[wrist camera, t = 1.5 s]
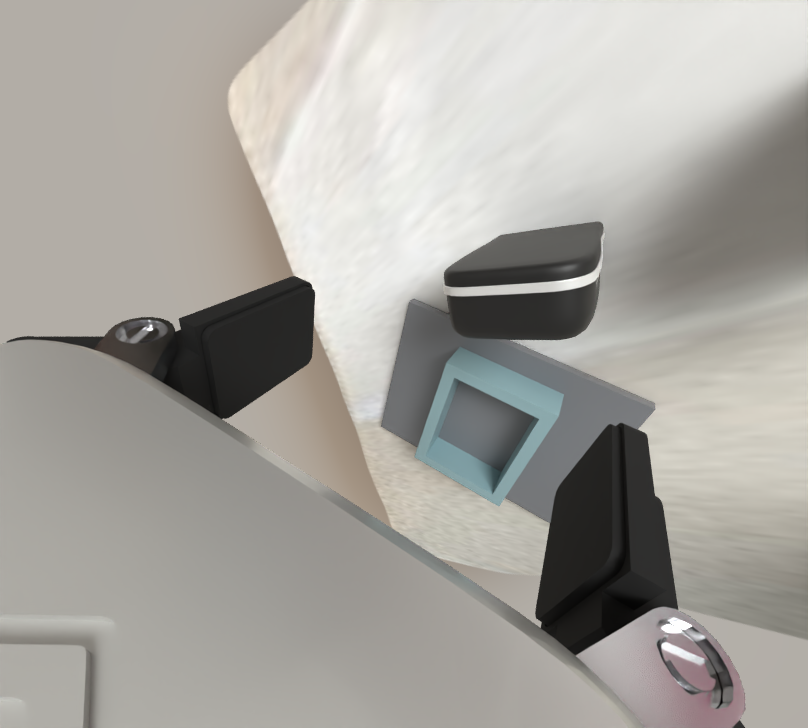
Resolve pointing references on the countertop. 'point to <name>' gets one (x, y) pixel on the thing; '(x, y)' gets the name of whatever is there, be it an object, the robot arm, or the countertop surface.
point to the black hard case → (528, 284)
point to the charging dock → (497, 411)
